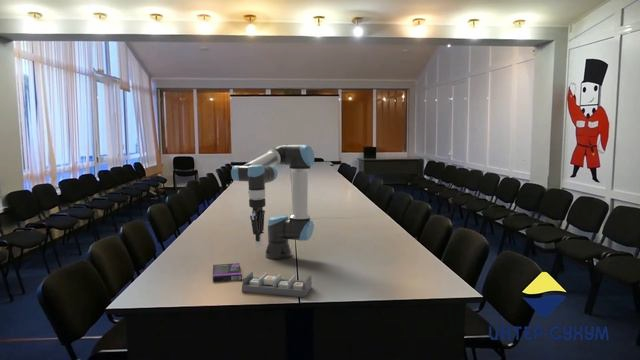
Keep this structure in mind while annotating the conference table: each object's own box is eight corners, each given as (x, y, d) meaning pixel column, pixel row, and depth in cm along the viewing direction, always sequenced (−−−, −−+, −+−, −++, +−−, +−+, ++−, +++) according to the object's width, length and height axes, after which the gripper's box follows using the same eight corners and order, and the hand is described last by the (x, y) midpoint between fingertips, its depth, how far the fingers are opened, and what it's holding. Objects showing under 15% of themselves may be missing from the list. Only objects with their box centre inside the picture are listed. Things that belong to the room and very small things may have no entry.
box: (241, 281, 220) (240, 268, 239) (241, 274, 219) (239, 262, 238) (212, 283, 217) (213, 269, 236) (212, 276, 216) (213, 263, 235)
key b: (253, 283, 211) (253, 277, 211) (262, 284, 210) (261, 278, 210) (249, 286, 207) (249, 281, 207) (258, 287, 206) (258, 281, 206)
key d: (267, 280, 209) (267, 275, 209) (275, 281, 208) (275, 275, 208) (263, 284, 205) (263, 278, 205) (272, 284, 204) (272, 279, 204)
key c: (295, 287, 206) (295, 281, 206) (304, 287, 205) (304, 282, 205) (292, 290, 202) (292, 284, 202) (302, 291, 201) (302, 285, 201)
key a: (281, 285, 208) (281, 280, 208) (290, 286, 207) (290, 281, 206) (278, 289, 204) (278, 283, 203) (287, 290, 203) (287, 284, 202)
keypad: (251, 282, 216) (251, 270, 215) (311, 287, 208) (311, 275, 208) (241, 291, 204) (241, 279, 203) (304, 297, 197) (304, 284, 196)
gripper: (254, 195, 213) (256, 242, 217) (243, 200, 201) (246, 251, 204) (269, 195, 211) (271, 243, 215) (259, 201, 199) (261, 252, 203)
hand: (259, 247), depth 210 cm, fingers closed
